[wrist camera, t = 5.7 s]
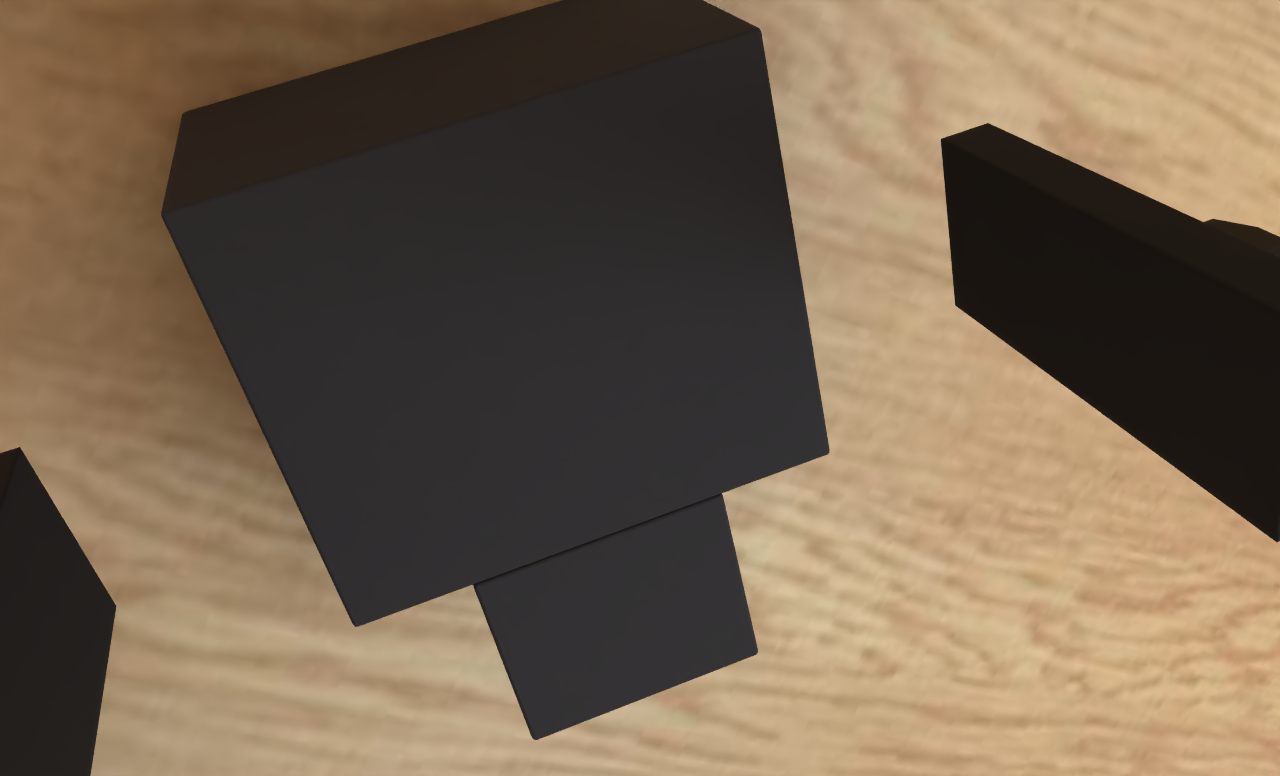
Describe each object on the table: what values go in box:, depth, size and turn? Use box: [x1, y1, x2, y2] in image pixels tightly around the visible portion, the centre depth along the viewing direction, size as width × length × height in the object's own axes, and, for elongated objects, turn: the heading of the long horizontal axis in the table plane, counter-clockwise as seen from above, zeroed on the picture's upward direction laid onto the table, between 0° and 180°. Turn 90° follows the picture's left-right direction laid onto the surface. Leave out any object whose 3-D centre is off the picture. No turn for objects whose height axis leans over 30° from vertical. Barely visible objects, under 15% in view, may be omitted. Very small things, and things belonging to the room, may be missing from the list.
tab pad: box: [161, 0, 829, 740], centre depth 20 cm, size 8×11×5 cm
